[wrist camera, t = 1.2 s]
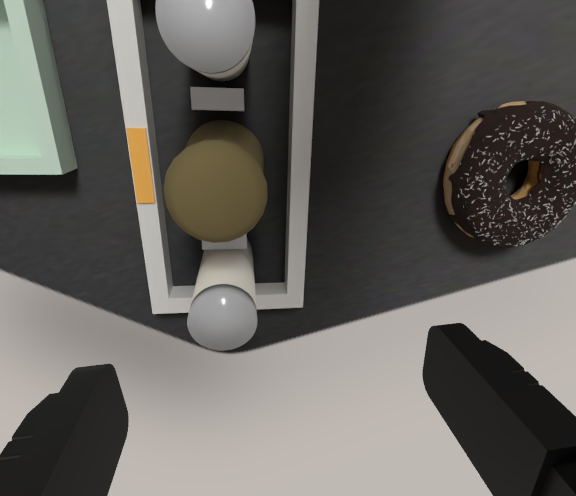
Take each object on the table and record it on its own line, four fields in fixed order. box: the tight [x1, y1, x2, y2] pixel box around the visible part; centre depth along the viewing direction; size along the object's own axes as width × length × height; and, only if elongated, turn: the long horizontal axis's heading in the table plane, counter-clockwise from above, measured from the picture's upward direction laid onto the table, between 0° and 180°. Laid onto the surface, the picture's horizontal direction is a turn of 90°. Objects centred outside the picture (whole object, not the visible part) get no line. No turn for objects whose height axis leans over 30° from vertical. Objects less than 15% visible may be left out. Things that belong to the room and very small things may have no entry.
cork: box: [163, 120, 268, 243], centre depth 21 cm, size 6×6×11 cm
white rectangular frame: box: [107, 0, 319, 314], centre depth 24 cm, size 24×12×5 cm, turn 178°
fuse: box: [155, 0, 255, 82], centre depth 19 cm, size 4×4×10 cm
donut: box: [443, 101, 576, 247], centre depth 28 cm, size 11×12×4 cm
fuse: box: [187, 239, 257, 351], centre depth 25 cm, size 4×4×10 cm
